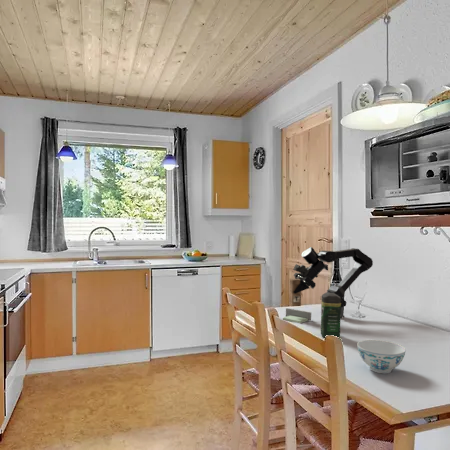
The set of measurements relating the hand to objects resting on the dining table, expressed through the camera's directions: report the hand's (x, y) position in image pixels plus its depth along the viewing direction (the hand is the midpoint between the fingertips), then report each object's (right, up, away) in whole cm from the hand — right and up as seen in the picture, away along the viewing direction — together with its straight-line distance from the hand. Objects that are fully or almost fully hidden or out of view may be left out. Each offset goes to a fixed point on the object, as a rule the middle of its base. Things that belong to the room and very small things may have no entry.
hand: (292, 292), depth 202 cm
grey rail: (+3, -14, +2) cm, 14 cm away
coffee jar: (+11, -14, -30) cm, 35 cm away
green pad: (+1, -14, -2) cm, 14 cm away
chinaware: (+18, -15, -69) cm, 72 cm away
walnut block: (+1, -7, 0) cm, 7 cm away
